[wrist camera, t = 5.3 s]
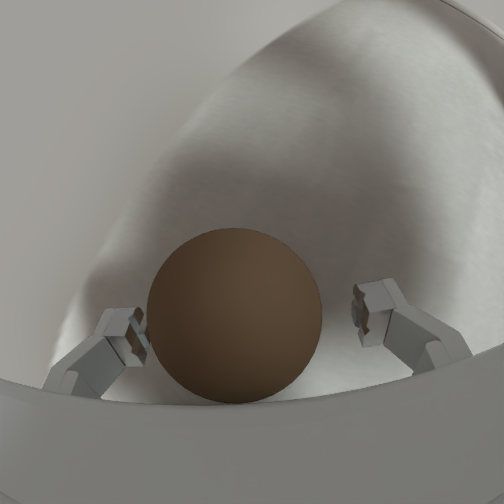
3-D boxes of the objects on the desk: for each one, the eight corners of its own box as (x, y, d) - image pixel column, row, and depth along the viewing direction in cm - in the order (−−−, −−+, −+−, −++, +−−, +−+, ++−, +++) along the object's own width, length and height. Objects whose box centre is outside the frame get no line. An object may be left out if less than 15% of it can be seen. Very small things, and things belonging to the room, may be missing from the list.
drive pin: (291, 273, 17) (308, 218, 7) (300, 348, 16) (329, 393, 6) (216, 281, 17) (143, 240, 8) (223, 355, 16) (156, 403, 7)
